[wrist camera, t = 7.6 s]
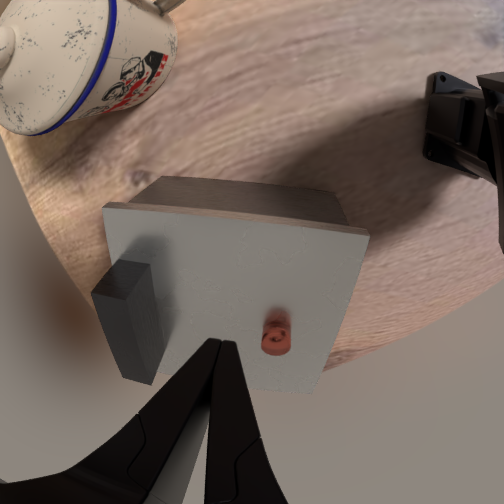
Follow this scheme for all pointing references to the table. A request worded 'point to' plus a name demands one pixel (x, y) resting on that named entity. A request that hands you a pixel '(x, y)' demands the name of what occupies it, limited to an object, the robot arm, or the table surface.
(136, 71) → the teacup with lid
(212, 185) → the metal box
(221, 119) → the table surface
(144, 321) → the box lid
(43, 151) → the table surface
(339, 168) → the table surface
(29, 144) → the table surface
